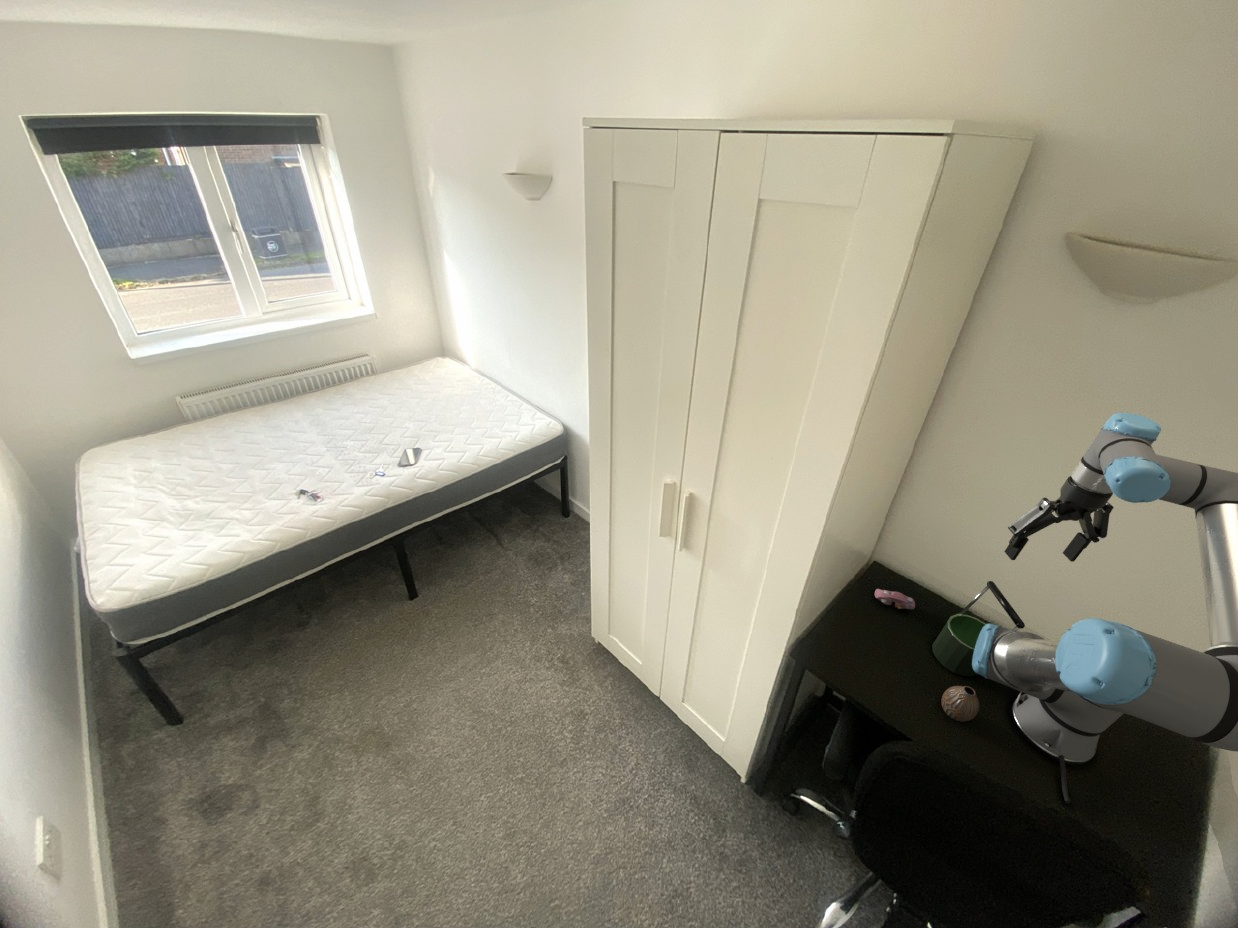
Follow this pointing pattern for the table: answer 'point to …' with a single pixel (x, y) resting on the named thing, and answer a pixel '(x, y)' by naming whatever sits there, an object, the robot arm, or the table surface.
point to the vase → (960, 703)
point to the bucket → (967, 635)
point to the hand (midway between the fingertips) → (1038, 556)
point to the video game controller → (895, 599)
